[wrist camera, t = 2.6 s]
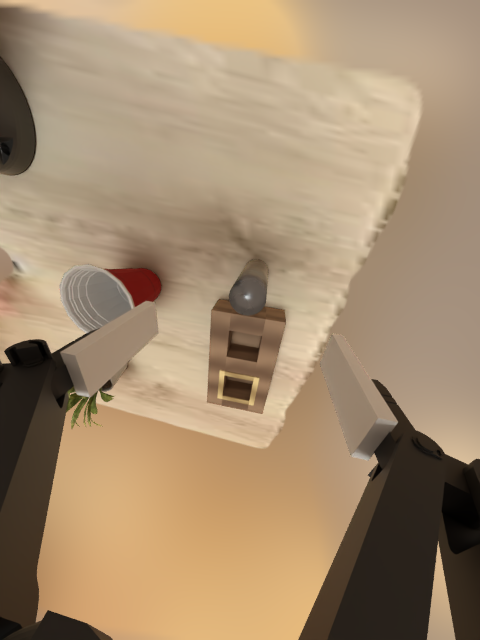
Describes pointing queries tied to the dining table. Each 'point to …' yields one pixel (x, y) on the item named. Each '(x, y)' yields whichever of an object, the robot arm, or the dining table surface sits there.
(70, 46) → the dining table surface
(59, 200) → the dining table surface
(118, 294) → the plastic cup
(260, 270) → the pin
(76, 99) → the dining table surface
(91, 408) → the house plant
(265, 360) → the hole block
